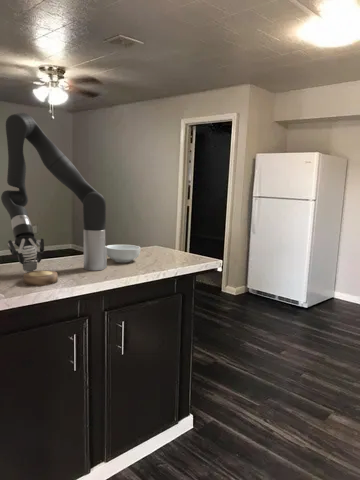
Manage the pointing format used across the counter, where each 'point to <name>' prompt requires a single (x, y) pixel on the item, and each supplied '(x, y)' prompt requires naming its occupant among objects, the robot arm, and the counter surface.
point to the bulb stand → (40, 278)
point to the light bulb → (32, 253)
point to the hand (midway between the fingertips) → (31, 262)
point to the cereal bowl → (123, 252)
